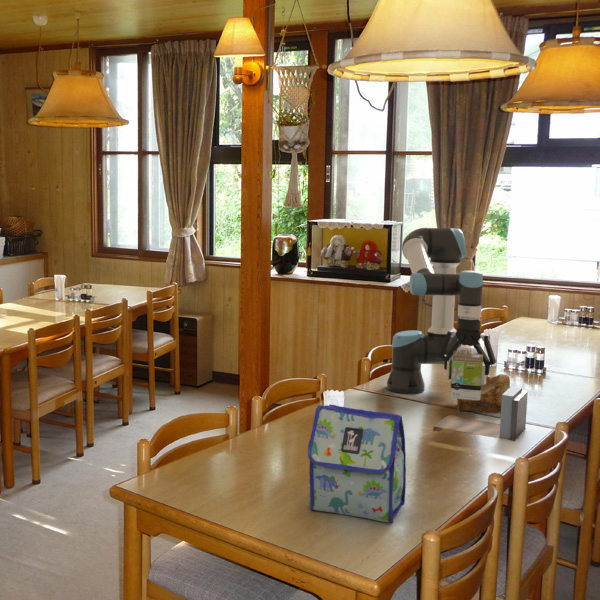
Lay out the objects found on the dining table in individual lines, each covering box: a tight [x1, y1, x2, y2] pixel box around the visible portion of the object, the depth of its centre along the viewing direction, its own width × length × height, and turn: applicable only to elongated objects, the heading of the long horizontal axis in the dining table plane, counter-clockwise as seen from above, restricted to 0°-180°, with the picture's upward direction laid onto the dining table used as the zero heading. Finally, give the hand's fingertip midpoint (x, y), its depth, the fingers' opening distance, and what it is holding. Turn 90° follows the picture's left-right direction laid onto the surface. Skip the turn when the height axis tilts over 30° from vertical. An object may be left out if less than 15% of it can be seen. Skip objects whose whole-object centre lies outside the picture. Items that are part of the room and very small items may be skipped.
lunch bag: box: [306, 403, 407, 524], centre depth 182 cm, size 22×17×26 cm
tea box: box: [449, 346, 484, 400], centre depth 246 cm, size 15×10×15 cm
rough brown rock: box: [451, 369, 511, 414], centre depth 268 cm, size 23×17×15 cm
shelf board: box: [433, 414, 527, 442], centre depth 247 cm, size 27×15×1 cm, turn 60°
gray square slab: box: [510, 389, 529, 441], centre depth 239 cm, size 2×13×13 cm, turn 150°
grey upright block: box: [499, 385, 523, 439], centre depth 240 cm, size 4×12×14 cm, turn 150°
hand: (466, 381), depth 247 cm, fingers closed on tea box, 11 cm apart
